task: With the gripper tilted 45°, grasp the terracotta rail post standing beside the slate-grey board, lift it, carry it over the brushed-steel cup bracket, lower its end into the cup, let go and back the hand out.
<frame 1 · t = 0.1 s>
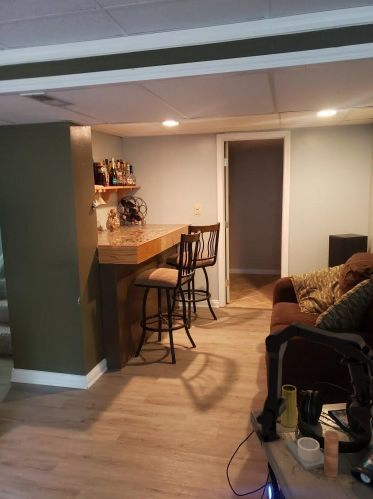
hand: (372, 426, 120), 15 cm above the table, tool pointing down, fingers open, 9 cm apart
cup bracket: (307, 455, 131), on the table
vase: (288, 423, 150), on the table
post: (330, 472, 122), on the table
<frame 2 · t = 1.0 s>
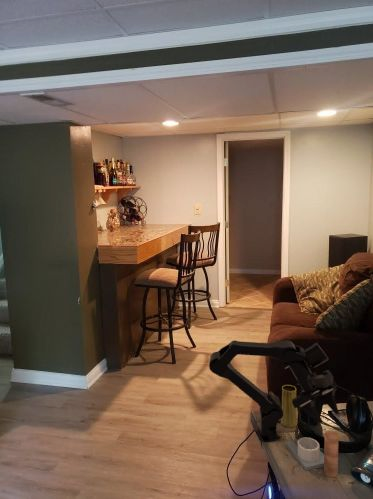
hand: (329, 418, 129), 13 cm above the table, tool tilted 45°, fingers open, 9 cm apart
nothing on the table moved.
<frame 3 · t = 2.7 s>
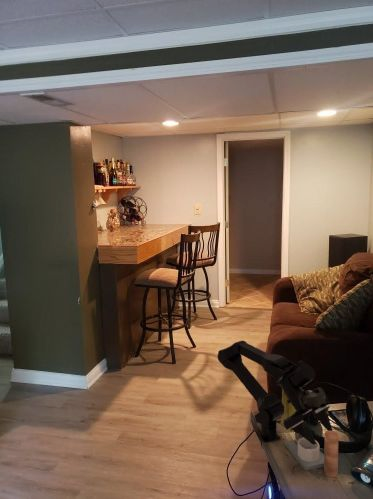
hand: (323, 438, 123), 10 cm above the table, tool tilted 45°, fingers open, 9 cm apart
nothing on the table moved.
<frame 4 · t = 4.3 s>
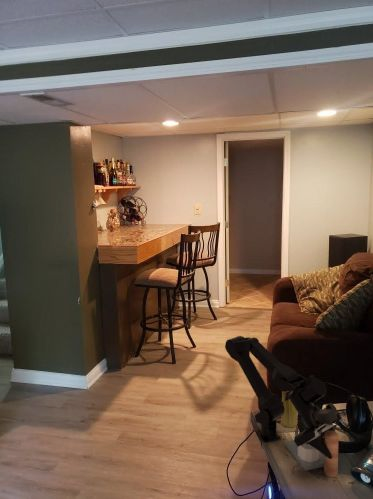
hand: (335, 455, 120), 7 cm above the table, tool tilted 45°, fingers closed on post, 4 cm apart
post: (330, 472, 122), on the table, touching gripper
everything else where it was.
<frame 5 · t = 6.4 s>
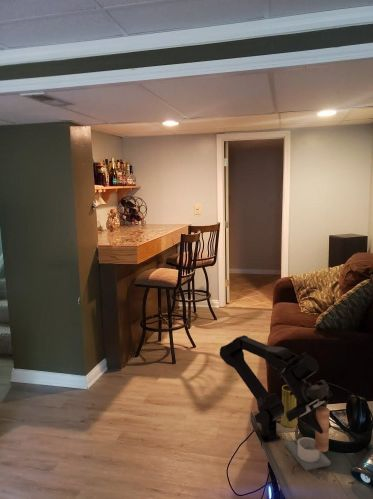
hand: (326, 430, 122), 13 cm above the table, tool tilted 45°, fingers closed on post, 4 cm apart
post: (321, 447, 124), point 7 cm above the table, touching gripper
everything else where it was.
when the fingers open (9 cm above the table, at t = 8.2 s): post stays where it is, resting on cup bracket.
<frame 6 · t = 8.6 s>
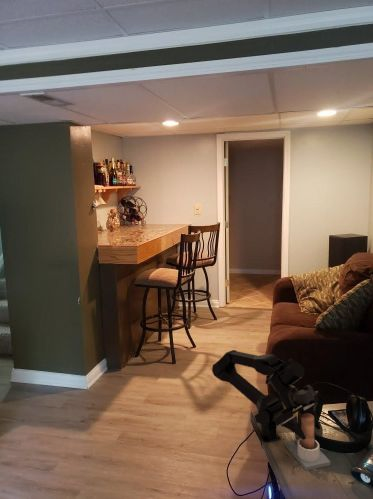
hand: (312, 434, 127), 9 cm above the table, tool tilted 45°, fingers open, 8 cm apart
post: (308, 453, 129), point 2 cm above the table, touching cup bracket
everything else where it was.
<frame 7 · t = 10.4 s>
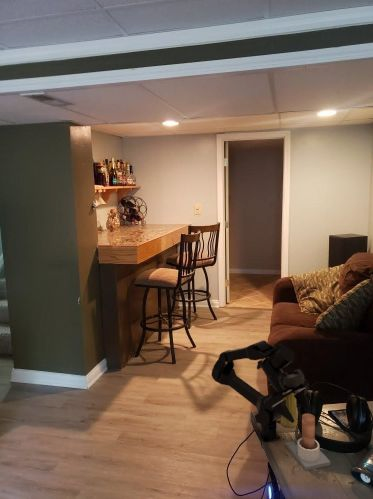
hand: (302, 416, 129), 14 cm above the table, tool tilted 45°, fingers open, 9 cm apart
nothing on the table moved.
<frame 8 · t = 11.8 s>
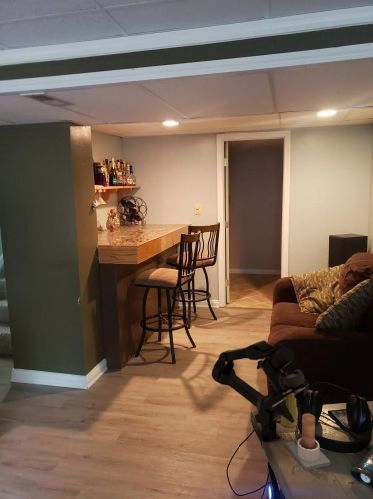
hand: (301, 416, 129), 14 cm above the table, tool tilted 45°, fingers open, 9 cm apart
nothing on the table moved.
at the end: post 0.1 cm from the target spot on the cup bracket, point 1.7 cm above the cup bracket's base; post tilted 0°; the gripper is holding nothing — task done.
